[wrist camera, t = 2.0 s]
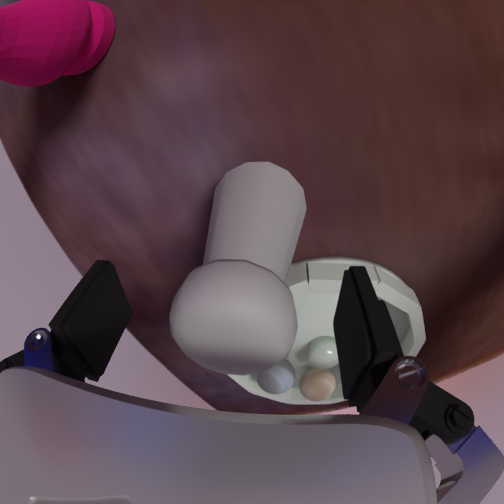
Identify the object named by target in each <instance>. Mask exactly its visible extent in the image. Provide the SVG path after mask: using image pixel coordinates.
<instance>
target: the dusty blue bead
mask: <svg viewBox="0 0 504 504" xmlns="http://www.w3.org/2000/svg"><path fill="white" fill-rule="evenodd" d="M256 379H257V383H258V385H259V386H260V388H261V389H262V390H264V391H265V392H267V393H270V394H281V393H284V392H286V391H287V390H289V389H290V388H291V387H292V385H293V383H294V381H295V370H294V367H293V366H292V364H291V363H290V362H289V361H287V360H286V359H284V360H283V361H281V362H279V363H278V364H276V365H274V366H272V367H271V368H269V369H267V370H265V371H264V372H260V373H256Z"/></svg>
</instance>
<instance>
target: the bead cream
mask: <svg viewBox="0 0 504 504" xmlns="http://www.w3.org/2000/svg"><path fill="white" fill-rule="evenodd" d="M335 385H336V380H335V376H334V374H333V373H332V372H331V371H330V370H329V369H324V370H320V369H315V368H312V367H311V368H309V369H307V370H306V371H305V372H304V373H303V374H302V375H301V377H300V380H299V390H300V392H301V394H302V395H303V396H304V397H305V398H306V399H308V400H310V401H322V400H325V399H326V398H328V397H329V396H330V395H331V394H332V393H333V391H334V389H335Z"/></svg>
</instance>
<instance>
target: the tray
mask: <svg viewBox="0 0 504 504" xmlns="http://www.w3.org/2000/svg"><path fill="white" fill-rule="evenodd" d="M350 266H365V267H366V270H367V272H368V275H369V277H370V280H371V282H372V285H373V287H374V290H375V293H376V295H377V298H378V300H383V301H385V303H386V306H387V308H388V311H389V313H390V316H391V319H392V322H393V324H394V327H395V330H396V333H397V336H398V339H399V342H400V345H401V348H402V351H403V354H404V356H414V357H416V355H417V354H418V352H419V351H420V349H421V347H422V346H423V344H424V343H425V341H426V340H425V339H426V335H425V328H424V321H423V315H422V309H421V306H420V303H419V301H418V299H417V297H416V295H415V293H414V291H413V290H412V289H411V288H409V287H408V286H407V284H406V283H405V282H404V281H403V280H402V279H401V278H400V277H399V276H398V275H397V274H395V273H394V272H393V271H391V270H389V269H388V268H386V267H384V266H382V265H380V264H377V263H374V262H371V261H369V260H364V259H359V258H355V257H344V256H322V257H315V258H307V259H303V260H299V261H295V262H291V265H290V269H289V272H288V275H287V278H286V282H285V284H286V285H287V286H288V287H289V289H290V290H291V292H292V295H293V299H294V304H295V308H296V313H297V322H298V329H297V333H296V338H295V342H294V344H293V346H292V348H291V351H290V353H289V355H288V357H287V358H286V360H287V361H289V362H290V363H291V364H292V366H293V367H294V370H295V381H294V383H293V385H292V387H291V388H290V389H289V390H287V391H286V392H284V393H281V394H270V393H267V392H265V391H264V390H262V389H261V388H260V386H259V385H258V383H257V379H256V373H255V374H250V375H244V376H242V375H231V374H227V375H228V376H230V377H231V378H232V379H233V380H235V381H236V382H237V383H238V384H240V385H241V386H242V387H243V388H245V389H246V390H247V391H248V392H251V393H252V394H256V395H259V396H262V397H265V398H269V399H272V400H276V401H279V402H283V403H287V404H288V403H290V404H331V403H332V404H333V403H337V402H341V401H345V400H344V398H343V391H342V383H341V376H340V368H339V361H338V355H337V348H336V342H335V335H334V329H333V319H334V315H335V311H336V306H337V302H338V298H339V293H340V288H341V284H342V279H343V274H344V271H345V270H349V267H350ZM311 367H312V368H315V369H320V370H324V369H329V370H330V371H331V372H332V373H333V374H334V376H335V380H336V385H335V389H334V391H333V393H332V394H331V395H330V396H329V397H328V398H326V399H325V400H322V401H310V400H308V399H306V398H305V397H304V396H303V395H302V394H301V392H300V390H299V380H300V377H301V375H302V374H303V373H304V372H305V371H306V370H307V369H309V368H311ZM347 400H348V399H347Z"/></svg>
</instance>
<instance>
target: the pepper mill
mask: <svg viewBox="0 0 504 504" xmlns="http://www.w3.org/2000/svg"><path fill="white" fill-rule="evenodd" d="M114 31H115V19H114V15H113V13H112V11H111V10H110V9H109V8H108V7H107V6H105V5H103V4H100V3H96V2H92V1H87V0H21V1H18V2H16V3H13V4H10V5H6V6H3V7H0V79H1V80H3V81H6V82H8V83H11V84H13V85H19V86H26V87H30V86H40V85H45V84H48V83H51V82H52V81H54V80H56V79H57V78H59V77H60V76H66V75H76V74H81V73H84V72H86V71H88V70H89V69H91V68H93V67H94V66H95V65H96V64H97V63H98V62H99V61H100V60H101V59H102V58H103V56H104V55H105V53H106V52H107V50H108V49H109V47H110V45H111V42H112V39H113V36H114Z"/></svg>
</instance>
